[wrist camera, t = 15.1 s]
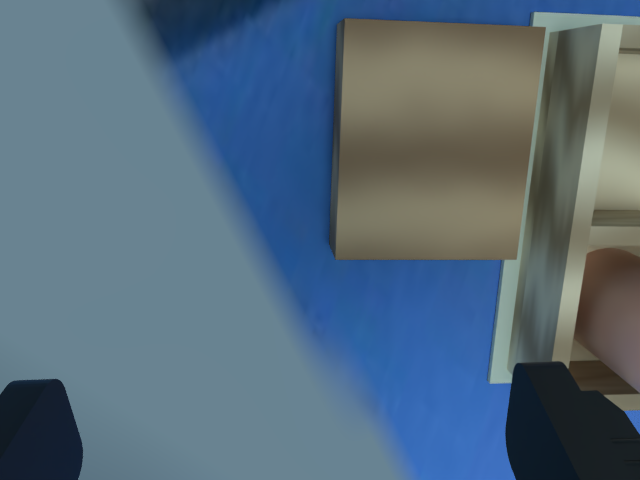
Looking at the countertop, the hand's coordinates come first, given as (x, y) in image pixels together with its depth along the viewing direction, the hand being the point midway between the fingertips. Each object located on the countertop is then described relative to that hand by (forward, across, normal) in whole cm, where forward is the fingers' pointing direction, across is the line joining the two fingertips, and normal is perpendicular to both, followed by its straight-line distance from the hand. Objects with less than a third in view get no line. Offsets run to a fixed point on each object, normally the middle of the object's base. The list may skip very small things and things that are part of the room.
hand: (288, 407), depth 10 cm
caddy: (+23, -17, +7) cm, 30 cm away
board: (+23, -6, +2) cm, 24 cm away
